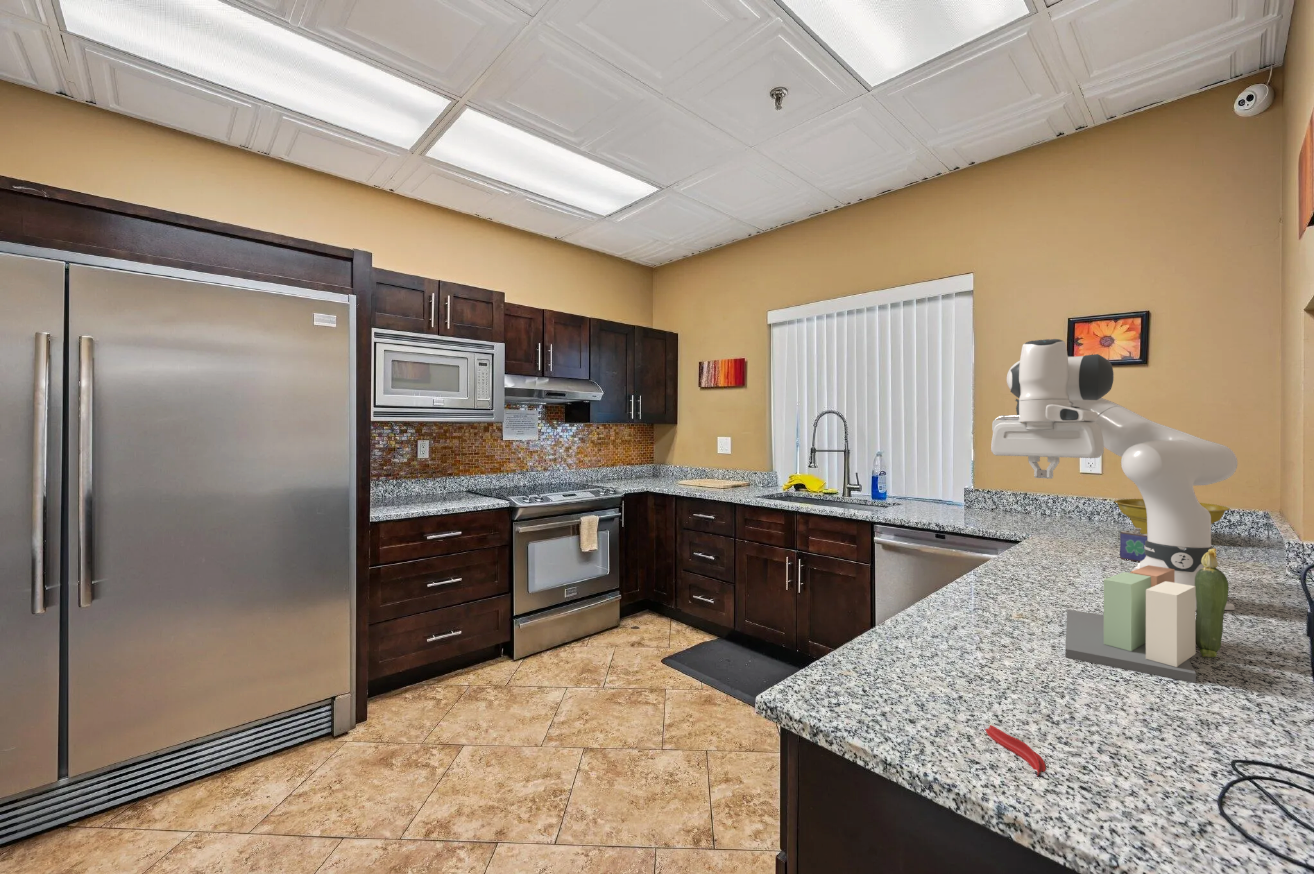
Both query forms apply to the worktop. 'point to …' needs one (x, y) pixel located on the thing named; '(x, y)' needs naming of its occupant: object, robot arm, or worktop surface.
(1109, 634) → the sage green block
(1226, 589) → the vegetable
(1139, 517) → the planter bowl
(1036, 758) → the cayenne pepper
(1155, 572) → the terracotta block
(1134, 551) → the flask
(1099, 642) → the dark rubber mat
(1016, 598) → the worktop surface
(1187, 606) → the cream block
